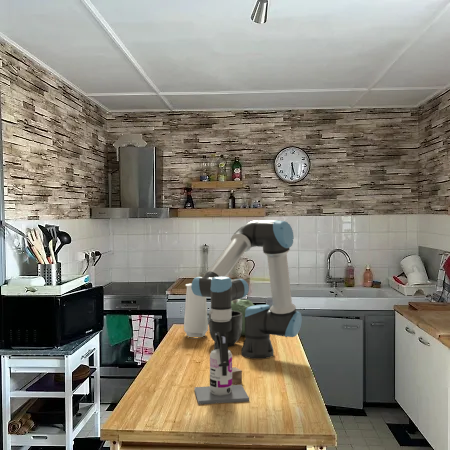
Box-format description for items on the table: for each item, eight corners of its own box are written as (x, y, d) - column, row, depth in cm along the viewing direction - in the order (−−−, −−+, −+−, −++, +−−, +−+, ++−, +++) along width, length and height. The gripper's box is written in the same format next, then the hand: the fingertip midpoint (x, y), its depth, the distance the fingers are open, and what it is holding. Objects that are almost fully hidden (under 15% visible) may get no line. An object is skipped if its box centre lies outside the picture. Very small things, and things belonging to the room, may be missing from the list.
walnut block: (235, 379, 201) (235, 367, 201) (241, 383, 196) (241, 370, 196) (224, 381, 198) (224, 368, 198) (230, 385, 194) (230, 372, 194)
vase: (197, 332, 280) (197, 282, 280) (212, 336, 271) (212, 284, 270) (179, 335, 272) (179, 284, 271) (194, 340, 262) (194, 287, 262)
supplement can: (235, 389, 185) (235, 349, 185) (227, 397, 177) (227, 355, 177) (214, 387, 188) (214, 347, 187) (206, 394, 180) (206, 353, 180)
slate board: (241, 387, 191) (241, 384, 191) (249, 401, 177) (249, 398, 177) (194, 390, 188) (194, 387, 188) (198, 404, 174) (198, 400, 174)
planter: (247, 347, 248) (247, 315, 247) (213, 350, 243) (213, 317, 243) (236, 339, 264) (236, 309, 264) (204, 341, 259) (204, 311, 259)
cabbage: (259, 338, 266) (259, 301, 266) (224, 338, 267) (224, 300, 266) (258, 331, 282) (258, 296, 281) (224, 331, 282) (224, 296, 282)
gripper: (206, 313, 194) (206, 367, 194) (215, 327, 169) (215, 390, 169) (225, 312, 195) (225, 366, 195) (237, 327, 170) (237, 389, 171)
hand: (221, 377), depth 182 cm, fingers open, 13 cm apart
